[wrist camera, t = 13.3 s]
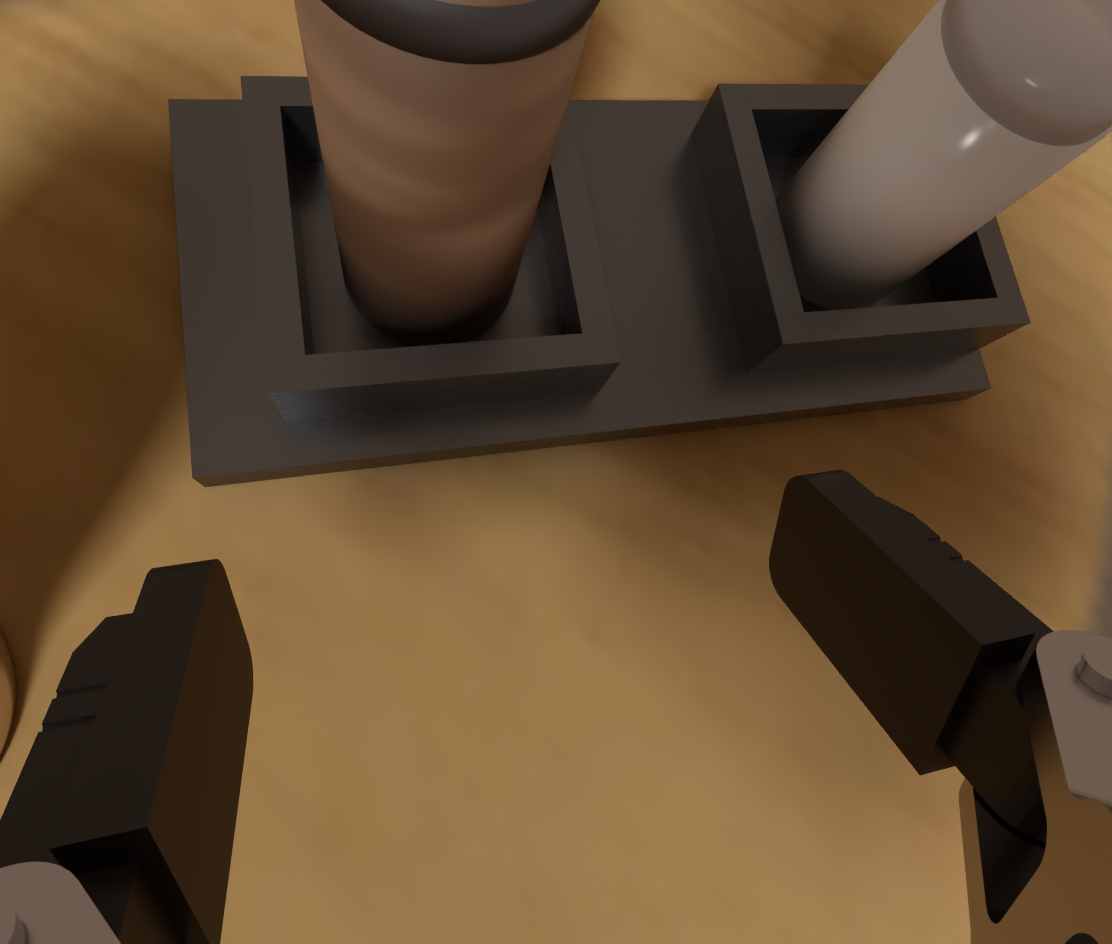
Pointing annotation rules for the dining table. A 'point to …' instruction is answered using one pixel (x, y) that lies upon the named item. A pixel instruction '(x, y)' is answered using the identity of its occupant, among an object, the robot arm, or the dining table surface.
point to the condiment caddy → (550, 295)
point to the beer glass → (6, 693)
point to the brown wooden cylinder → (437, 147)
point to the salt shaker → (947, 141)
